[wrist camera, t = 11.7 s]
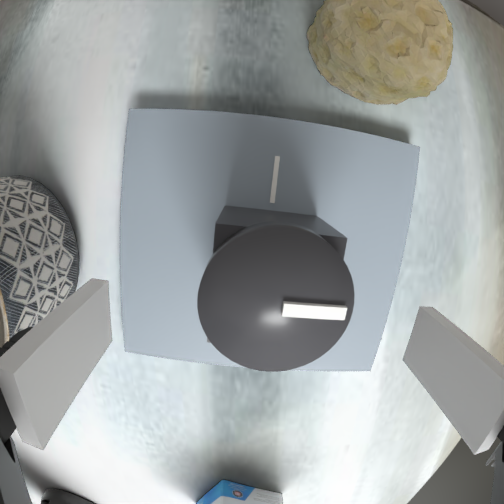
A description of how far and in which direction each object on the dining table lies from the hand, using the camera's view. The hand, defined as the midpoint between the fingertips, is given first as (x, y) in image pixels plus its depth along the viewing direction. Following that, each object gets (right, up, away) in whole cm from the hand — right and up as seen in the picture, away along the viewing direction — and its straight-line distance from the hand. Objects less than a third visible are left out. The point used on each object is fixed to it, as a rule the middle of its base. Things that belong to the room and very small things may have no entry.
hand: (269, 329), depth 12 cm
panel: (0, +3, +10) cm, 11 cm away
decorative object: (+8, +18, +7) cm, 21 cm away
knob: (0, +3, +9) cm, 9 cm away
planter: (-20, +3, +10) cm, 23 cm away
